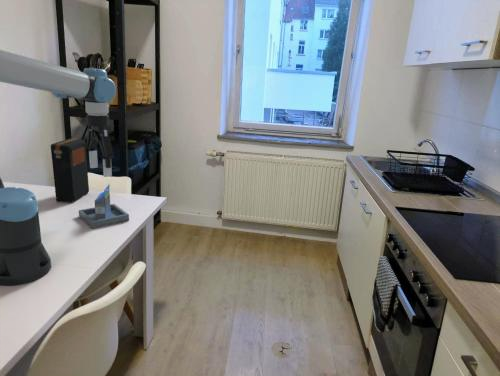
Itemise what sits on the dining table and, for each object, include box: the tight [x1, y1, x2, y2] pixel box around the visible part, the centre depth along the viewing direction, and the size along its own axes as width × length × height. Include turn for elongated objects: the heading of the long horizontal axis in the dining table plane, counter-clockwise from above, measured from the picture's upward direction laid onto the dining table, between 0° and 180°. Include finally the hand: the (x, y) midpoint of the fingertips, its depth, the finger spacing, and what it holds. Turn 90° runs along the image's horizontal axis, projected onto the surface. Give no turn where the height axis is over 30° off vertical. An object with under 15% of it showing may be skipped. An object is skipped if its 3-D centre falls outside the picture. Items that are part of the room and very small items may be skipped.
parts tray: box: [78, 203, 130, 230], centre depth 145 cm, size 14×14×2 cm
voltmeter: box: [50, 137, 90, 203], centre depth 161 cm, size 16×9×25 cm, turn 175°
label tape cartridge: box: [94, 183, 111, 220], centre depth 143 cm, size 9×4×12 cm, turn 8°
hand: (100, 171), depth 140 cm, fingers open, 13 cm apart
